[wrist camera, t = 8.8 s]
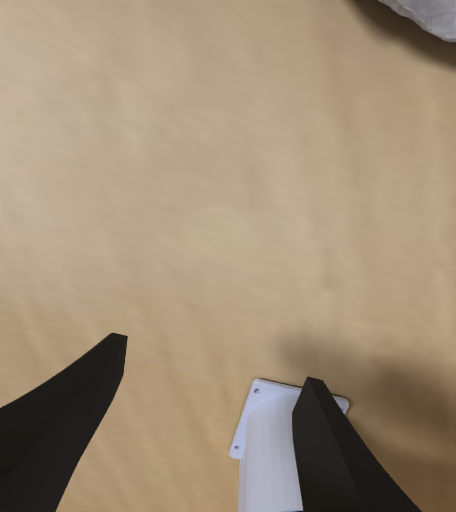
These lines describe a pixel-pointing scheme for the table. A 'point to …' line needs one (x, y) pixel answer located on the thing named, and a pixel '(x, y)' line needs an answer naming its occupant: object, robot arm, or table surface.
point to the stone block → (429, 15)
